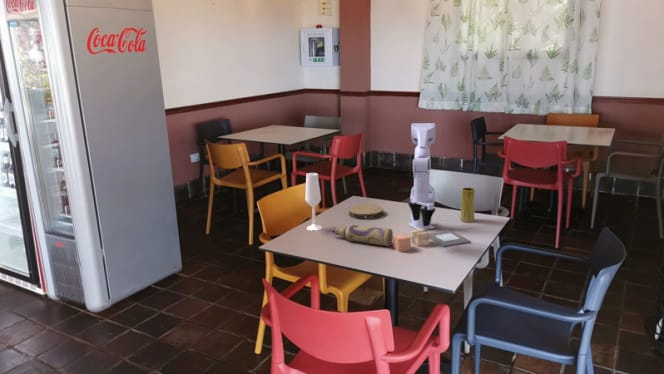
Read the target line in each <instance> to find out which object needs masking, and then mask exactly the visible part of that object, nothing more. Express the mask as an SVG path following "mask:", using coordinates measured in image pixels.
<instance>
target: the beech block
mask: <svg viewBox="0 0 664 374" xmlns="http://www.w3.org/2000/svg"><path fill="white" fill-rule="evenodd" d="M429 234H430V232H429V231H427V229H426V230H424V229H418V230H417V229H413V230H411V244H413V245H415V246H416V247H424V246H428V245H430V238H429Z"/></svg>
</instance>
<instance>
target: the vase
mask: <svg viewBox="0 0 664 374" xmlns="http://www.w3.org/2000/svg"><path fill="white" fill-rule="evenodd" d="M475 191H476V190H475V188H474V187H463V188H462V189H461V203H460V218H459V219H460V222H463V223H474V222H475V221H476V220H475Z"/></svg>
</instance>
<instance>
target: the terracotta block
mask: <svg viewBox="0 0 664 374" xmlns="http://www.w3.org/2000/svg"><path fill="white" fill-rule="evenodd" d="M411 245H412V236H411V237H410V236H409V235H407V233H399V234H393V239H392V248H393V249H394V250H396V252H399V253H400V252H405V251H411V250H412V249H411Z"/></svg>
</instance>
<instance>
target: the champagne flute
mask: <svg viewBox="0 0 664 374" xmlns="http://www.w3.org/2000/svg"><path fill="white" fill-rule="evenodd" d="M304 197H305V202H306V203H307V204H308V205H309V206H310V207H311V209H312V210H311V212H312V213H311V214H312V224H311V225H309V226H307V227H306V230H308V231H312V230H315V231H320V230H322V229H323V226H321V225H319V224H317V223H316V207H317V206H318V204H319V203H320V202H321V200H322V197H321V188H320V182H319V174H318V173H316V172H309V173H306V177H305V196H304Z"/></svg>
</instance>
